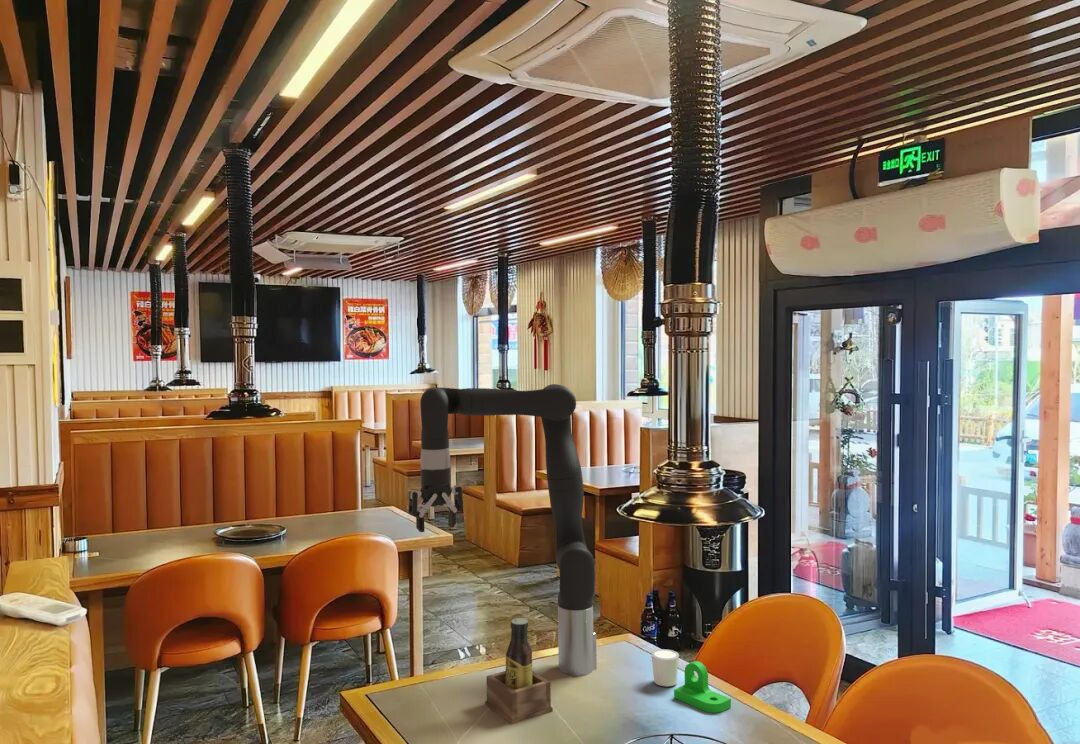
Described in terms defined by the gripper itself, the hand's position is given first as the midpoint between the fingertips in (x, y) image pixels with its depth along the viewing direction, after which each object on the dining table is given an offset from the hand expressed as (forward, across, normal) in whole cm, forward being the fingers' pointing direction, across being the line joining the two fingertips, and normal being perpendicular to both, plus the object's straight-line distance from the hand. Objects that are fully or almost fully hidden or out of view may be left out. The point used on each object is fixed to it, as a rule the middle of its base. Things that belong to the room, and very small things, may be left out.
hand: (436, 529), depth 199 cm
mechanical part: (+38, -44, +49) cm, 77 cm away
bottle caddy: (+38, -7, +27) cm, 47 cm away
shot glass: (+38, -45, +36) cm, 69 cm away
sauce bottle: (+37, -7, +27) cm, 47 cm away
